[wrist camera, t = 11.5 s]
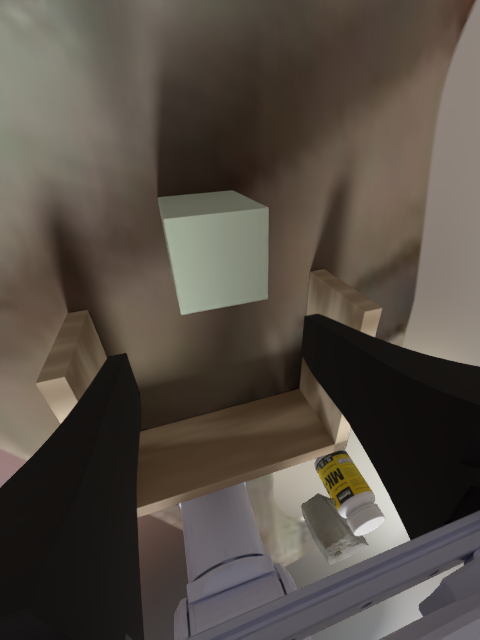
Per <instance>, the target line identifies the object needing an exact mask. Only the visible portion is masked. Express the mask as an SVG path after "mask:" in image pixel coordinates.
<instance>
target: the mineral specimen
mask: <svg viewBox="0 0 480 640" xmlns="http://www.w3.org/2000/svg"><path fill="white" fill-rule="evenodd" d="M301 508H302V513H303V516H304V519H305V522H306V524H307V526H308V528H309V530H310V532H311V534H312V537H313V539H314V540H315V542H316V544H317V546H318V548H319V549H320V551H321V553H322V555H323V556H324V558H325V559H326V561H327V562H328V564H329V565H332V564H334V563H335V562H337V561H338V560H344V559H346V558H348V557H349V556H351V555H353V554H354V553H356V552H358V551H359V550H361V549H362V548H364V547H365V546H366V545H368V544H367V542H366V540H365V538H364V537H363V536H362V535H361V536H355V535H354V534H353V532H352V530H351V529H350V527H349V525H348V523H347V518H344V517H342V516H341V515H340V514H339V512H338V511H337V509H336V507H335V505H334V503H333V501H332V499H329V498H327V497H325V496H322V495H320V494H317V495H315V496H314V497H312V498H311V499H309V500H308V501H307V502H306V503H303V504H302V505H301Z"/></svg>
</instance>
